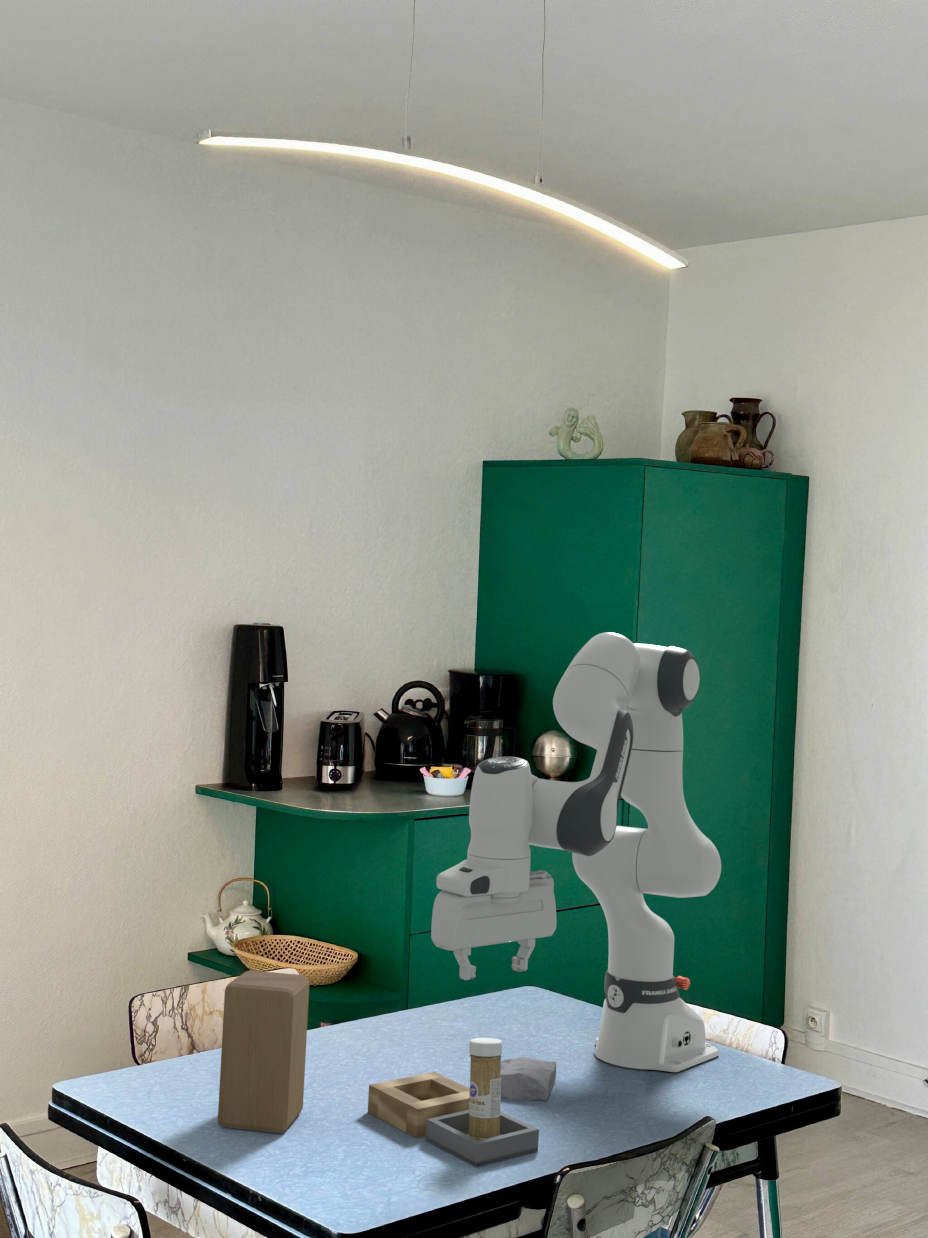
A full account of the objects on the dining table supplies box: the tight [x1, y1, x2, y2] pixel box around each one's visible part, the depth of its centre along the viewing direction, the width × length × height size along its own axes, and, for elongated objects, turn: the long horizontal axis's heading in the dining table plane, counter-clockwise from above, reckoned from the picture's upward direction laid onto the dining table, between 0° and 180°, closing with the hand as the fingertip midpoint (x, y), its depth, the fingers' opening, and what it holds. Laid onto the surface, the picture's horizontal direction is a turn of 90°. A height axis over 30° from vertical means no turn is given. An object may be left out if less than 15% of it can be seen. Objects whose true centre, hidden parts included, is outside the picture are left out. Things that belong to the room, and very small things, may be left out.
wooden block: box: [217, 969, 310, 1134], centre depth 192 cm, size 10×10×20 cm
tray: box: [425, 1110, 540, 1168], centre depth 186 cm, size 11×11×3 cm
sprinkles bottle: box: [468, 1037, 503, 1141], centre depth 186 cm, size 5×5×13 cm
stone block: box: [501, 1056, 557, 1102], centre depth 212 cm, size 12×5×10 cm
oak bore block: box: [367, 1071, 470, 1139], centre depth 196 cm, size 12×12×4 cm
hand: (493, 974), depth 187 cm, fingers open, 8 cm apart
